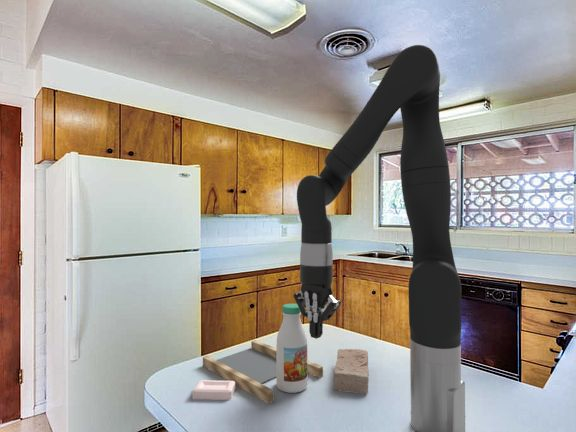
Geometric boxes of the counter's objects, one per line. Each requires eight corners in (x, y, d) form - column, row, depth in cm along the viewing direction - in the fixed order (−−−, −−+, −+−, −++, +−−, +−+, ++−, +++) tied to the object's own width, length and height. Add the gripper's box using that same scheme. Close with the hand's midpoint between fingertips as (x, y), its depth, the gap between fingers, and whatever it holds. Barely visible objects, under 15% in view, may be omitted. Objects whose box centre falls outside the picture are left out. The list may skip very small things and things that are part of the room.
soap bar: (230, 401, 79) (230, 390, 79) (191, 400, 79) (191, 390, 79) (235, 389, 84) (235, 379, 84) (199, 388, 84) (199, 379, 84)
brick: (368, 395, 81) (368, 375, 81) (333, 391, 83) (333, 372, 83) (367, 366, 97) (367, 349, 97) (338, 363, 99) (337, 347, 99)
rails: (322, 376, 90) (322, 366, 90) (268, 403, 77) (268, 392, 77) (255, 347, 110) (255, 340, 110) (202, 365, 97) (202, 357, 97)
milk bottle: (272, 391, 82) (271, 308, 82) (282, 377, 90) (281, 300, 90) (303, 396, 80) (302, 310, 80) (310, 381, 87) (310, 302, 88)
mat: (295, 368, 94) (295, 367, 94) (252, 388, 84) (252, 386, 84) (250, 349, 109) (250, 348, 109) (208, 363, 98) (208, 362, 98)
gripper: (349, 263, 77) (349, 340, 77) (306, 258, 87) (305, 326, 87) (328, 267, 72) (328, 349, 72) (284, 261, 81) (284, 333, 81)
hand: (315, 337), depth 79 cm, fingers closed
